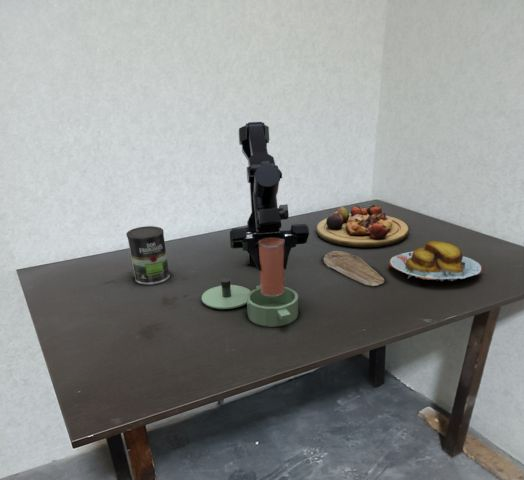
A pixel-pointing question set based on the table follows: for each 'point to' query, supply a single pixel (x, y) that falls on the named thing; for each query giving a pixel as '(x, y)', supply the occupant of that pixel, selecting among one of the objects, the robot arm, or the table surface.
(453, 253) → the food on plate
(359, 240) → the wooden plate
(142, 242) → the coffee can
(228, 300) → the pot lid
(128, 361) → the table surface
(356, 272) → the brown flat tapered piece
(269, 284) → the reddish translucent cylinder
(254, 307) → the pot
